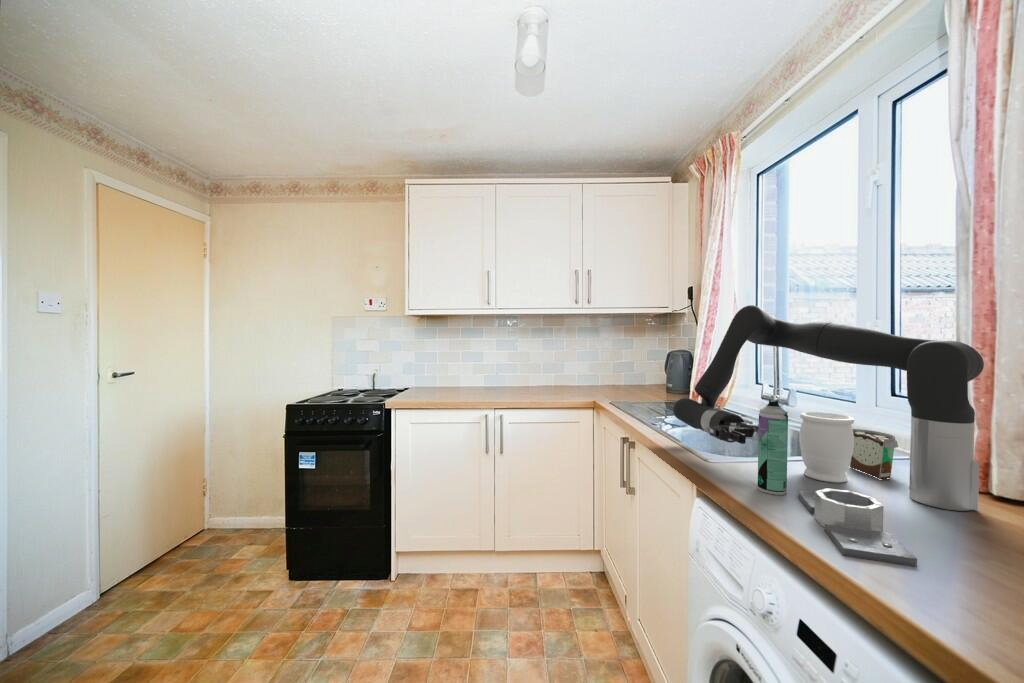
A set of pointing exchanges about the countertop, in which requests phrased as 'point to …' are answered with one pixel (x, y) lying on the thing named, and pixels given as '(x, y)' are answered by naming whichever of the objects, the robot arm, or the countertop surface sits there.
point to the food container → (873, 452)
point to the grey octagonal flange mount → (856, 525)
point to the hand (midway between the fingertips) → (762, 439)
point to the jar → (826, 445)
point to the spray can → (772, 449)
